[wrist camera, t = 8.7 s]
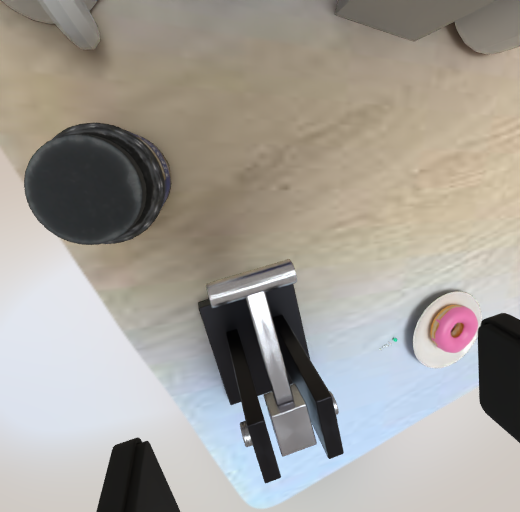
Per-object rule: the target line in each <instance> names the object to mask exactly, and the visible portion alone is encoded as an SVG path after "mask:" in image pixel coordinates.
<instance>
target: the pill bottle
mask: <svg viewBox="0 0 520 512" xmlns="http://www.w3.org/2000/svg"><path fill="white" fill-rule="evenodd" d="M24 187H25V195H26V198H27V202H28V203H29V207H30V209H31V210H32V212H33V214H34V215H35V217H36V218H37V220H38V221H39V222H40V223H41V224H42V225H44V227H45V228H46V229H48V230H49V231H50V232H52V233H53V234H55V235H56V236H58V237H60V238H62V239H64V240H67V241H70V242H73V243H78V244H85V245H94V244H112V243H114V244H115V243H120V242H124V241H127V240H130V239H133V238H134V237H136V236H138V235H139V234H141V233H142V232H144V231H145V230H146V229H148V227H149V226H150V225H151V224H152V223H153V222H154V221H155V219H156V218H157V216H158V214H159V212H160V210H161V208H162V206H163V205H164V203H165V201H166V200H167V198H168V195H169V192H170V188H171V176H170V169H169V165H168V162H167V160H166V159H165V157H164V155H163V154H162V153H161V151H160V150H159V149H158V148H157V147H156V146H155V145H154V144H153V143H151V142H150V141H148V140H146V139H145V138H143V137H140V136H138V135H136V134H133V133H131V132H128V131H126V130H123V129H121V128H119V127H116V126H114V125H109V124H102V123H86V124H79V125H76V126H72V127H69V128H67V129H65V130H63V131H62V132H61V133H59V134H58V135H56V136H55V137H54V138H53V139H52V140H51V141H48V142H47V143H45V144H44V145H43V146H41V147H40V148H39V149H38V150H37V151H36V152H35V154H34V155H33V156H32V158H31V159H30V161H29V163H28V166H27V169H26V172H25V178H24Z"/></svg>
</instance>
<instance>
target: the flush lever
mask: <svg viewBox="0 0 520 512" xmlns="http://www.w3.org/2000/svg"><path fill="white" fill-rule="evenodd" d="M296 282H297V275H296V271H295V268H294V265H293V263H292V261H291V260H290V259H287V260H284V261H280V262H277V263H273V264H270V265H267V266H263V267H260V268H257V269H253V270H250V271H247V272H243V273H240V274H237V275H233V276H230V277H227V278H223V279H220V280H217V281H213V282H210V283H207V284H206V289H207V293H208V296H209V299H210V303H211V305H212V308H216V307H219V306H223V305H226V304H229V303H232V302H235V301H239V300H242V299H245V298H246V302H247V305H248V309H249V312H250V316H251V319H252V323H253V326H254V330H255V333H256V337H257V340H258V344H259V347H260V351H261V354H262V358H263V361H264V365H265V369H266V372H267V376H268V379H269V383H270V386H271V390H272V392H269V393H266V394H264V399H265V402H266V405H267V409H268V412H269V416H270V419H271V423H272V426H273V430H274V433H275V436H276V439H277V442H278V445H279V448H280V451H281V454H282V456H286V455H289V454H291V453H294V452H297V451H299V450H302V449H305V448H308V447H310V446H313V445H316V444H317V443H316V439H315V435H314V431H313V427H312V424H311V420H310V416H309V412H308V408H307V405H306V403H305V401H304V399H303V397H302V395H301V393H300V391H299V389H298V387H297V385H296V384H292V385H290V383H289V379H288V376H287V372H286V368H285V365H284V361H283V357H282V353H281V350H280V346H279V342H278V339H277V335H276V331H275V328H274V324H273V320H272V317H271V313H270V309H269V305H268V302H267V298H266V294H265V292H268V291H271V290H274V289H278V288H281V287H284V286H287V285H291V284H294V283H296Z"/></svg>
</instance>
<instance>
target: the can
mask: <svg viewBox="0 0 520 512" xmlns="http://www.w3.org/2000/svg"><path fill="white" fill-rule="evenodd" d="M454 22H455V25H456V29H457V31H458V33H459V35H460V36H461V38H462V40H463V41H464V43H465V44H466V45H468V46H469V47H470V48H472V49H473V50H474V51H476V52H480V53H483V54H487V55H488V54H494V53H500V52H503V51H506V50H510V49H513V48H516V47H519V46H520V0H496V1H494V2H492V3H490V4H488V5H486V6H484V7H482V8H480V9H478V10H476V11H474V12H472V13H470V14H468V15H466V16H464V17H462V18H460V19H458V20H456V21H454Z"/></svg>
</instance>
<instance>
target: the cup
mask: <svg viewBox="0 0 520 512" xmlns="http://www.w3.org/2000/svg"><path fill="white" fill-rule="evenodd" d="M1 1H2V2H4V3H5V4H6V5H7V6H8V7H10V8H11V9H13V10H14V11H16V12H18V13H20V14H22V15H24V16H26V17H28V18H30V19H32V20H36V21H40V22H44V23H48V24H56V26H57V27H58V28H59V29H60V30H61V31H62V33H63V34H64V35H65V36H66V37H67V38H68V39H70V40H71V41H72V42H73V43H74V44H76V45H77V46H78V47H79V48H81V49H95V48H96V46H97V45H98V43H99V42H100V40H101V39H100V35H99V30H98V26H97V24H96V22H95V20H94V18H93V17H92V15H91V13H90V10H91V9H92V8H93V6H94V5H95V3H96V2H97V1H98V0H1Z"/></svg>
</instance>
